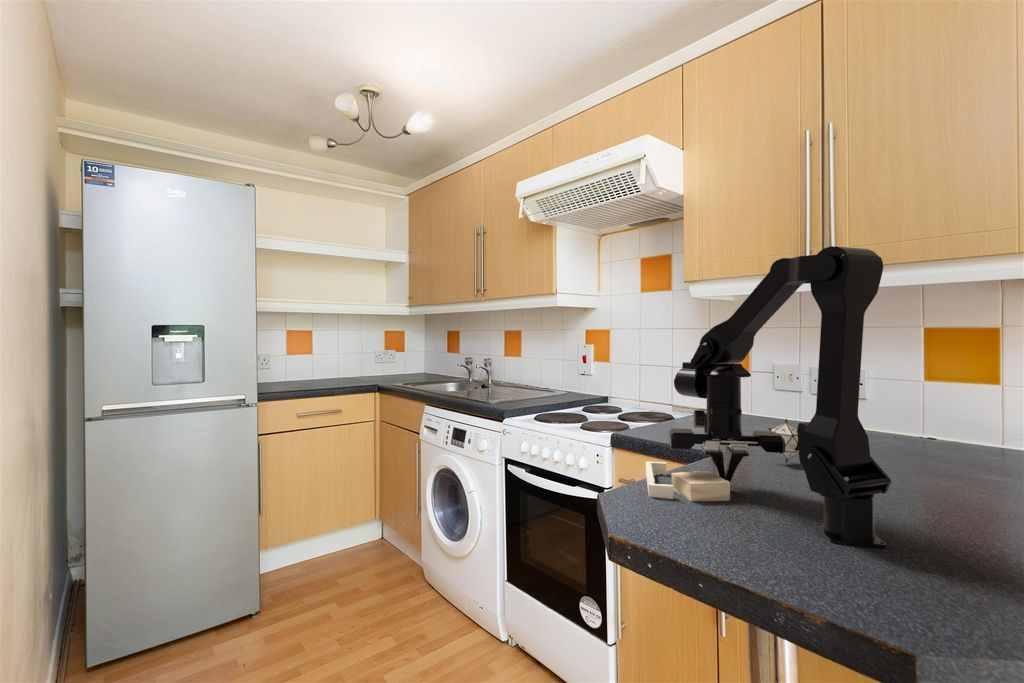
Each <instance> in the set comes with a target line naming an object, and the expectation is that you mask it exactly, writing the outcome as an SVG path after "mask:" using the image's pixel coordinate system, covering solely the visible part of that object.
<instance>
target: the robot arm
mask: <svg viewBox="0 0 1024 683" xmlns="http://www.w3.org/2000/svg"><path fill="white" fill-rule="evenodd" d="M883 271H884V262H883V260H882V257H881V256H879V255H878V253H876V252H875V251H873V250H871V249H869V248H859V247H847V246H834V245H833V246H828V247H824V248H823V249H821V250H820V251H819V252H817V254H810V255H799V256H794V257H782V258H779V259H776V260H774V262H773V263H772V264H771V265H770V268H769V272H767V274H766V275H765V276H764V277H763V279H761V281H760V282H759V283H758V284H757V286H756V287H755V288H754V289H752V291H751V293H749V295H748V296H747V298H746V299H744V301H743V302H742V303H741V304H740V306H739V307H738V308H737V309H736V310H735V311H734V312H733V314H732V315H731V316H730V317H729V318H728V319H726V320H723V321H722V322H720V323H718V324H716V325H714V326H713V327H712V328H710V329H709V330H708V331H706V332H705V333H704V335H702V337H701V338H700V340H699V345H698V346H697V348H696V351H695V352H694V354H693V356H692V358H691V359H690V361H685V362H682V363H681V364H682V367H681V368H680V369H679V370H678V371H677V372H676V374H675V377H674V378H673V385H674V388H675V390H676V392H677V393H678V394H679V395H681V396H685V397H689V398H690V397H692V398H697V399H706V411H705V410H701V409H699V410H697V409H695V410H694V411H693V428H697V429H699V428H700V429H704V431H703V433H695V432H694V431H693V430H692V429H691V428H670V430H669V431H668V444H669V445H670V448H671V449H676V450H678V449H679V450H691V449H692V448H693V447H694V446H695V445H700V449H701V451H702V452H703V453H704V455H708V456H709V457H710V458H711V460H712V463H713V465H714V468H715V471H716V475H717V476H719V477H721V478H723V479H725V480H727V481H729V482H730V483H731V480H732V479H733V476H734V474H735V473H736V472H735V471H736V470H737V468H738V466H739V464H740V463H741V461H742V460H743V458H744V457H750V451H749V452H748V448H749V447H760V448H761V449H762V450H763V451H764V452H766V453H776V454H777V453H784V452H785V440H784V438H783V437H782V436H781V435H779V434H777V433H776V432H774V431H771V430H768V431H767V430H753V432H752V435H745V434H743V432H742V415H743V414H742V412H743V411H742V380H741V378H751V375H752V374H751V373H750V371H748V370H747V369H746V368H745V367H744V366H743V364H742V363H741V362H743V361H744V360H745V359H746V357H747V356H748V354H749V353H750V351H751V350H752V348H753V347H754V343H755V342H754V341H755V337H756V335H757V333H758V332H759V331H760V330H761V329H762V328H763V326H764V325H765V324H766V323H767V322H768V321H769V320H770V319H771V318H772V317H773V316H774V315H775V314H776V313H777V311H778V310H780V308H782V306H784V305H785V303H786V302H787V301H788V300H789V299H790V298H791V297H792V296H793V295H794V294H795V293H796V291H798V289H799V288H800V287H801V286H802V285H804V284H809V285H810V293H811V295H812V297H813V299H814V300H815V302H816V304H817V306H818V308H819V310H820V314H821V316H820V317H821V318H820V334H819V351H818V352H819V353H818V354H819V355H818V369H817V383H816V384H817V385H816V400H815V401H816V402H815V404H816V405H815V413H814V415H813V417H812V418H811V420H810V421H808V422H799V423H798V425H797V427H796V428H797V434H798V442H797V446H796V448H795V451H799V454H798V460H799V463H800V465H801V467H803V470H804V473H805V476H806V479H807V480H806V481H807V483H808V486H809V490H810V491H811V492H814V493H817V494H819V495H820V496H821V497H823V522H822V523H820V522H815V523H814V528H815V529H816V530H817V531H818V532H819V533H820V534H821V535H822V536H823V537H824V538H825V539H826V540H827V541H828V542H829V543H830V544H835V545H845V546H858V547H868V548H869V547H870V548H872V547H873V548H880V549H881V548H884V549H886V548H888V547H887V546H888V544H887V543H886V542H885V541H884V540H883V539H882V538H880V537H879V536H877V535H876V532H875V530H876V529H875V495H877V494H878V495H879V494H883V495H884V494H887V493H888V490H889V488H890V486H891V483H892V480H891V478H890V477H889V476H888V475H887V473H886V472H885V471H884V470H883V469H882V468H881V466H880V465H879V464H878V463H877V462H876V461H875V460H874V459H873V457H872V456H871V451H870V441H869V436H868V434H867V432H866V430H865V428H864V426H863V424H862V422H861V420H860V419H859V403H860V402H859V401H860V400H859V398H860V385H861V371H862V370H861V368H862V354H863V353H862V352H863V341H864V340H863V338H864V336H863V335H864V322H865V321H864V320H865V314H866V311H867V310H868V308H869V306H870V305H871V303H872V302H873V300H874V299H875V298H876V295H877V294H878V291H879V288H880V285H881V284H880V283H881V280H882V276H883ZM721 446H725V447H724V448H725V460H724V452H723V450H721V449H720V448H721ZM845 478H847V479H848V480H847V479H845Z"/></svg>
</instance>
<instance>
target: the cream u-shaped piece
mask: <svg viewBox="0 0 1024 683" xmlns="http://www.w3.org/2000/svg"><path fill="white" fill-rule="evenodd" d="M667 466H668V465H667V462H666V461H665V462H664V461H645V477H646V478H645V479H646V484H647V493H648V497H649V498H657V497H658V499H659V498H660V499H670V500H674V490H673V485H672V484H663V483H662V484H661V483H656V479H655V475H658V476H661V475H660V474H663V473H665V474H663V475H662V476H667V475H668V473H667V472H668V471H667V470H668V469H667Z"/></svg>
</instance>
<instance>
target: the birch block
mask: <svg viewBox="0 0 1024 683" xmlns="http://www.w3.org/2000/svg"><path fill="white" fill-rule="evenodd" d="M671 485H673V492H675V493H677V494H679V495H680V496H682V497H683V498H685V499H686V500H688V501H690V502H718V501H719V502H720V501H724V502H725V501H727V502H728V501H731V481H730V482H729V481H727V480H725V479H723V478H721V477H719V476H718V474H715V473H712V472H711V471H707V470H705V471H703V470H702V472H694V471H687V472H686V471H685V472H683V471H681V472H671Z"/></svg>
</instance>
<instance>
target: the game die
mask: <svg viewBox="0 0 1024 683" xmlns="http://www.w3.org/2000/svg"><path fill="white" fill-rule="evenodd" d="M767 429H768V431H774V432H776V433H777V434H779V435H781V436H782V437H783V438H784V440H785V452H784V453H776V454H777V455H779V456H780V457H782V458H783V459H785V462H786V464H787V463H788V462H789V459H791V458H793V457H795V456H799V451H795V448H796V446H797V442H798V434H797V427H795V426H793V425H791V423H788V419H787V418H785V420H784V423H782V424H779V425H778V426H776V427H774V428H771V427H767Z"/></svg>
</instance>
